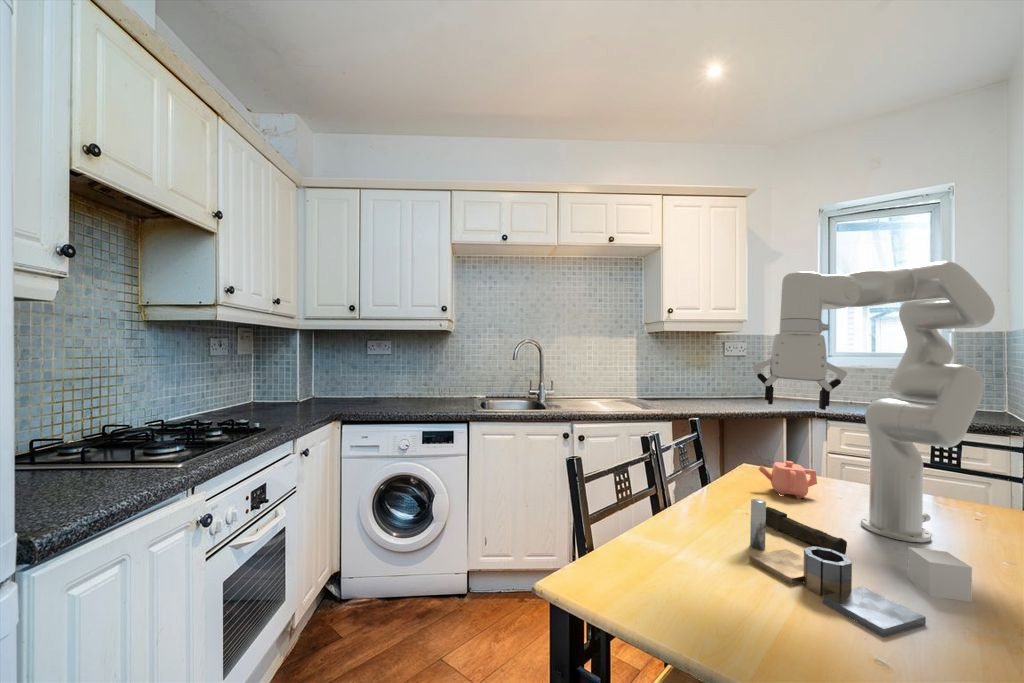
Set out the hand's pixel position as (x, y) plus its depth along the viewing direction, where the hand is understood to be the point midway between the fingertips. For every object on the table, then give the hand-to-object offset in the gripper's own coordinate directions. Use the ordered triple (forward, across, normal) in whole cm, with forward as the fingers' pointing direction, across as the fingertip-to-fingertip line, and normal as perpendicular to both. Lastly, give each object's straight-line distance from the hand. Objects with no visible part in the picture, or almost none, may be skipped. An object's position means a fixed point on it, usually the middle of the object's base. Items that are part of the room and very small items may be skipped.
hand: (795, 406), depth 94 cm
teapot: (+29, -4, -42) cm, 52 cm away
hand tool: (+31, -2, -6) cm, 31 cm away
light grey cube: (+30, -22, +6) cm, 38 cm away
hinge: (+31, -4, +16) cm, 35 cm away
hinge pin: (+31, +6, +4) cm, 32 cm away
